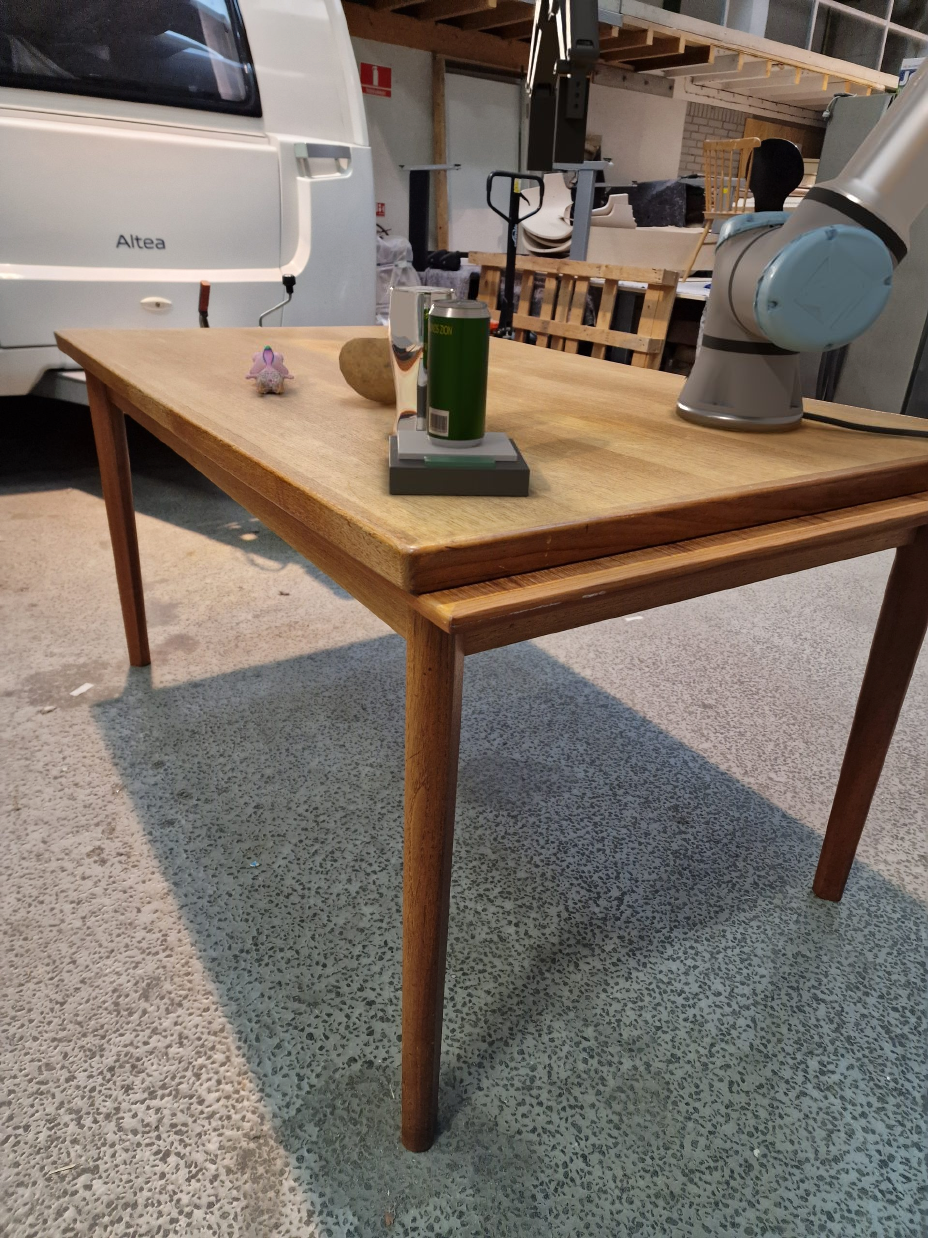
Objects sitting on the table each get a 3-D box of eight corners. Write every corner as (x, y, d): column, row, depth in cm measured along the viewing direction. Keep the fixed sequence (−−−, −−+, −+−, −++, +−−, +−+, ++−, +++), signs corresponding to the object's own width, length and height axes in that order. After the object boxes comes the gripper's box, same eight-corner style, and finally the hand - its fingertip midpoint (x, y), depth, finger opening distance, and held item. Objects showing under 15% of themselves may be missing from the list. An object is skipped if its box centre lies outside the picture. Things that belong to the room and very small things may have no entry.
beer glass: (445, 448, 84) (450, 292, 78) (380, 442, 86) (379, 288, 79) (458, 433, 91) (464, 287, 84) (398, 428, 92) (399, 284, 85)
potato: (456, 411, 101) (458, 343, 97) (341, 411, 98) (339, 341, 95) (444, 396, 110) (446, 333, 106) (338, 395, 107) (336, 331, 104)
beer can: (467, 452, 72) (473, 306, 66) (414, 443, 74) (416, 301, 69) (494, 440, 76) (502, 302, 71) (444, 431, 78) (448, 297, 73)
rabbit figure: (296, 406, 106) (290, 367, 118) (294, 360, 102) (288, 325, 114) (246, 406, 104) (245, 367, 116) (243, 360, 101) (242, 324, 113)
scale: (511, 462, 81) (513, 432, 79) (528, 496, 71) (530, 462, 70) (389, 460, 80) (389, 429, 78) (389, 494, 70) (389, 459, 68)
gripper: (505, -72, 81) (495, 172, 91) (558, -181, 59) (539, 157, 68) (579, -67, 82) (562, 174, 91) (659, -172, 60) (626, 160, 69)
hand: (552, 167), depth 80 cm, fingers open, 13 cm apart
